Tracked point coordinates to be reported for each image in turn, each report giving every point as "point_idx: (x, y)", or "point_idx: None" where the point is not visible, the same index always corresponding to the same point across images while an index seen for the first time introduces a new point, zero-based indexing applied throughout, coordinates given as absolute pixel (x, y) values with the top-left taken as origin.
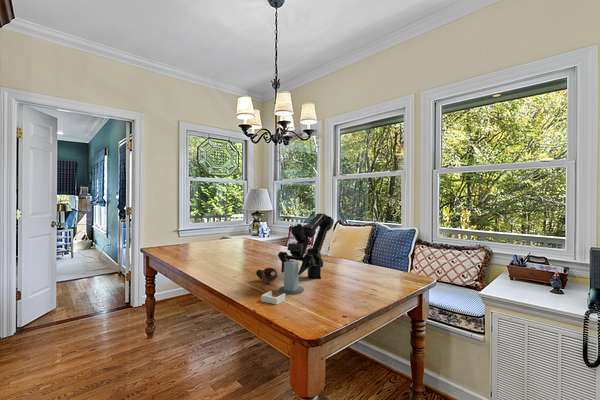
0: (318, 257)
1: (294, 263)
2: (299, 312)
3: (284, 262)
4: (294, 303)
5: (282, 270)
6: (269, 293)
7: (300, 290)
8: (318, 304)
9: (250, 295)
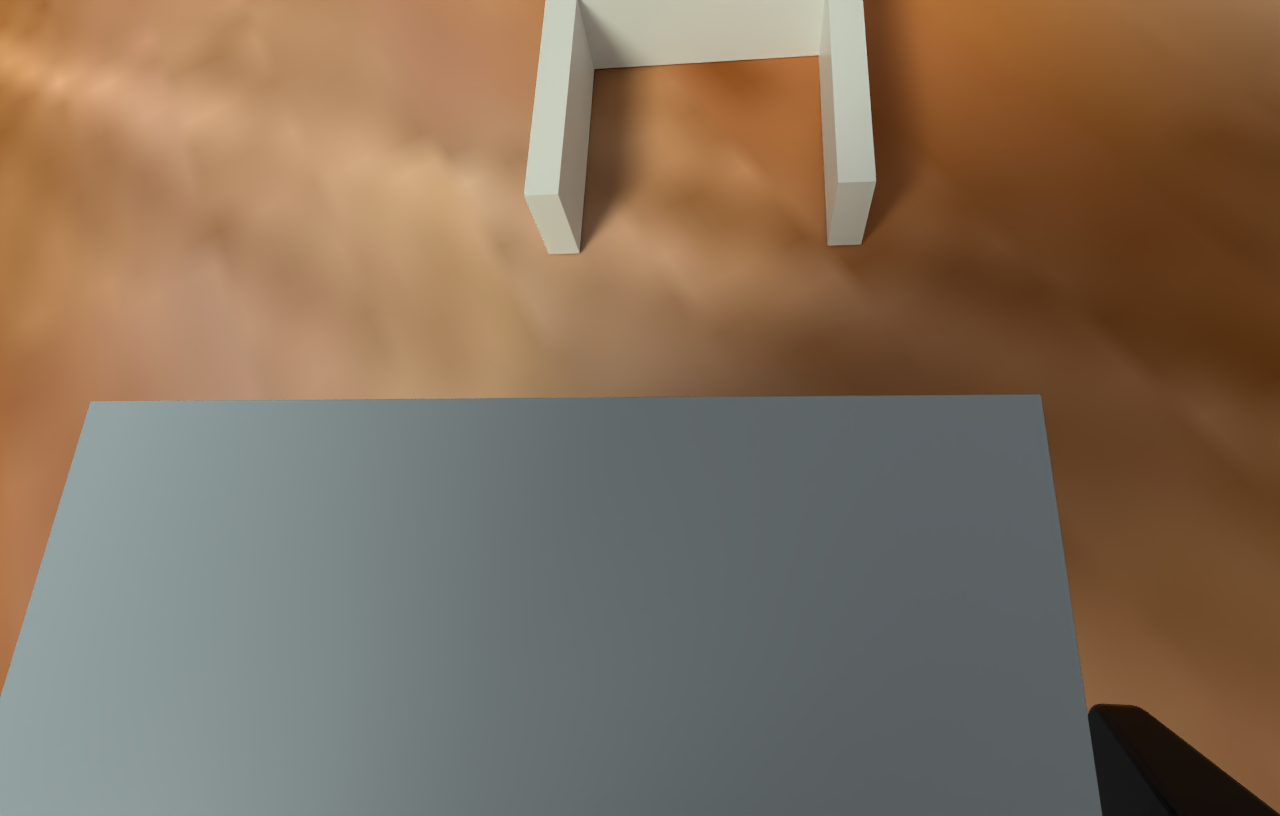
0: None
1: (67, 615)
2: (202, 9)
3: (987, 407)
4: (350, 193)
5: (1121, 756)
6: (832, 131)
7: None
8: (10, 322)
9: (1215, 123)
